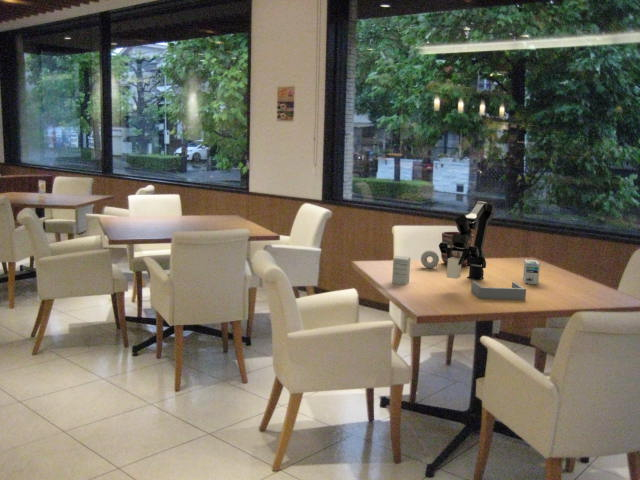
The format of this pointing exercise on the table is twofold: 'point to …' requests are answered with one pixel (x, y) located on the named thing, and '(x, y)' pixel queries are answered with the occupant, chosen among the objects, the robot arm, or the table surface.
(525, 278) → the light bulb box
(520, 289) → the open-front crate
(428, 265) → the grey ring
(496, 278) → the table surface
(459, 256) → the pottery
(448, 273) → the cream block
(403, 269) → the supplement box
